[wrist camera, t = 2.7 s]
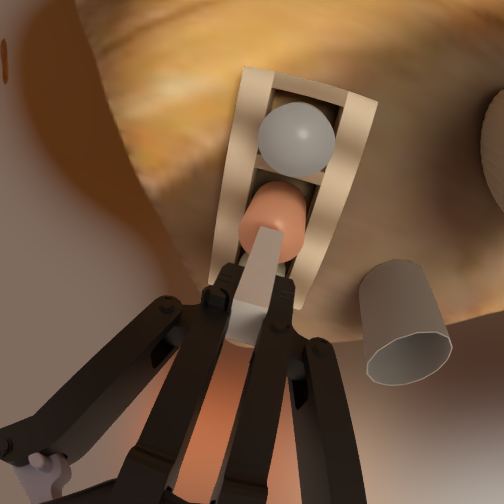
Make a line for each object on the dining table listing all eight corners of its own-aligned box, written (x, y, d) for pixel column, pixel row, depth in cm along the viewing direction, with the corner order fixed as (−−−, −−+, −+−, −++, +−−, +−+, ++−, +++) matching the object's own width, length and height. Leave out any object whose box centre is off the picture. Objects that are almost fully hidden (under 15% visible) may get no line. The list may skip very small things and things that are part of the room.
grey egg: (276, 95, 17) (266, 95, 13) (336, 111, 17) (344, 116, 13) (264, 149, 20) (251, 166, 16) (320, 165, 20) (323, 186, 16)
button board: (252, 69, 19) (244, 66, 17) (369, 100, 18) (378, 102, 16) (216, 267, 31) (207, 283, 29) (302, 291, 30) (300, 310, 28)
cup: (435, 261, 25) (467, 329, 17) (414, 315, 29) (431, 382, 21) (364, 257, 27) (379, 332, 18) (352, 314, 31) (356, 386, 23)
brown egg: (258, 174, 21) (244, 197, 17) (313, 189, 21) (312, 216, 17) (248, 222, 24) (233, 253, 20) (297, 236, 23) (293, 270, 19)
